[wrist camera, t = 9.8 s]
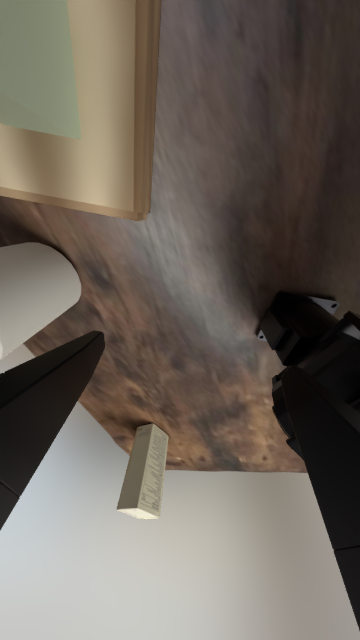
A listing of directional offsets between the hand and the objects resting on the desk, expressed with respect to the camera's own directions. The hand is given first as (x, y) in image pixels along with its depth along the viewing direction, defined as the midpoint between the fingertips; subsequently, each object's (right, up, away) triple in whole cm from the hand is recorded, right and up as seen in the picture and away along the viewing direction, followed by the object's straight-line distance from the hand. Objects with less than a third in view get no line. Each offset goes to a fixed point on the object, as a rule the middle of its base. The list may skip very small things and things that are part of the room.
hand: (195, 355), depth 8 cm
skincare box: (-6, -22, +29) cm, 37 cm away
